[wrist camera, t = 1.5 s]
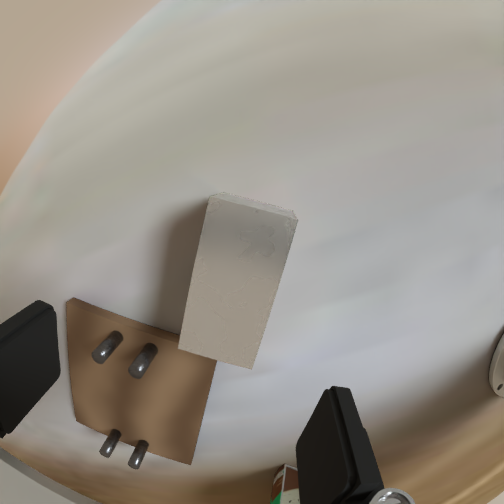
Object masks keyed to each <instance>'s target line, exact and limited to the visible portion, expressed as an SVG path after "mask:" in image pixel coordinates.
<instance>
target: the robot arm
mask: <svg viewBox="0 0 504 504" xmlns="http://www.w3.org/2000/svg"><path fill="white" fill-rule="evenodd" d="M59 376H60V361H59V350H58V337H57V317H56V312H55V311H54V309H53V306H51V305H50V304H47V303H45V302H43V301H41V300H37V301H35V302H34V303H32V304H31V305H29V306H27V307H26V308H24V309H23V310H21V311H20V312H18V313H17V314H15V315H14V316H12V317H11V318H9V319H8V320H6V321H5V322H3V323H2V324H0V438H3V437H4V436H5V435H6V433H7V434H10V433H11V432H12V431H13V430H14V429H15V428H16V426H17V425H18V424H19V423H20V422H21V421H22V419H23V418H24V417H25V416H26V415H27V414H28V412H29V411H30V410H31V409H32V408H33V407H34V405H35V404H36V403H37V402H38V401H39V400H40V399H41V397H42V396H43V395H44V394H45V393H46V392H47V391H48V390H49V388H50V387H51V386H52V385H53V384H54V383H55V382H56V381H57V379H58V378H59ZM489 382H490V386H491V388H492V389H493V390H494V392H495V393H496V394H497V395H498V396H501V397H504V334H503V336H502V338H501V339H500V341H499V343H498V345H497V348H496V350H495V353H494V355H493V359H492V362H491V365H490V371H489ZM296 458H297V471H298V485H299V499H300V504H415V502H414V500H413V499H412V498H411V496H410V495H409V494H407V493H406V492H404V491H402V490H400V489H396V488H387V489H385V488H384V485H383V482H382V478H381V475H380V472H379V469H378V466H377V462H376V459H375V456H374V453H373V450H372V447H371V444H370V441H369V438H368V435H367V432H366V430H365V429H364V428H363V426H362V423H361V420H360V417H359V414H358V411H357V408H356V405H355V402H354V399H353V396H352V393H351V391H350V389H349V388H344V387H337V386H332V387H331V388H330V389H329V390H328V389H326V390H325V391H324V392H323V394H322V396H321V398H320V400H319V402H318V404H317V406H316V408H315V410H314V412H313V414H312V416H311V418H310V419H309V421H308V423H307V425H306V427H305V429H304V430H303V432H302V434H301V436H300V438H299V439H298V442H297V445H296ZM0 504H102V503H99V502H97V501H95V500H93V499H90V498H88V497H86V496H84V495H82V494H80V493H77V492H75V491H73V490H71V489H69V488H67V487H65V486H63V485H61V484H60V483H58V482H56V481H54V480H52V479H50V478H49V477H47V476H45V475H43V474H41V473H40V472H38V471H36V470H35V469H33V468H31V467H30V466H28V465H27V464H25V463H23V462H22V461H20V460H19V459H17V458H16V457H14V456H13V455H11V454H10V453H8V452H7V451H5V450H4V449H2V448H1V447H0Z"/></svg>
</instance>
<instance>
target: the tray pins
mask: <svg viewBox="0 0 504 504" xmlns="http://www.w3.org/2000/svg"><path fill="white" fill-rule="evenodd" d="M122 341H123V336H122V334H121V333H120V332H119V331H116V330H114V331H112V332H111V333H110V334H109V335H108V336H107V337H106V338H105V339H104V340H103V341H102V342H101V343H100V344H99V345H98V347H97V348H96V349H95V350H94V351H93V352H92V354H91V356H92V358H93V360H94V361H95V362H96V363H98V364H103V363H104V362H105V361H106V360H107V359H108V357H109V356H110V355H111V354H112V353H113V352H114V351H115V349H116V348H117V347H118V346H119V345H120V344H121V342H122ZM157 353H158V348H157V346H156V345H155V344H153V343H147V344H146V345H145V346H144V347H143V349H142V350H141V351H140V353H139V354H138V356H137V357H136V358H135V360H134V361H133V362H132V364H131V365H130V367H129V368H128V372H129V374H130V375H131V376H132V377H133V378H136V379H141V378H142V377H143V375H144V374H145V372H146V370H147V369H148V367H149V366H150V364H151V363H152V361H153V359H154V358H155V356H156V355H157ZM121 436H122V434H121V432H120V431H119V430H117V429H112V431H111V432H110V434H109V436H108V437H107V439H106V441H105V442H104V444H103V446H102V447H101V449H100V451H99V452H100V454H101V455H103V456H104V457H107V458H109V457H110V455H111V454H112V452H113V450H114V448H115V446H116V445H117V443H118V441H119V439H120V437H121ZM148 447H149V443H148V442H147V441H145V440H139V441H138V443H137V445H136V447H135V449H134V451H133V453H132V456H131V458H130V460H129V462H128V465H129V466H130V467H131V468H133V469H139V467H140V464H141V462H142V460H143V458H144V455H145V453H146V451H147V449H148Z"/></svg>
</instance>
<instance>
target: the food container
mask: <svg viewBox="0 0 504 504" xmlns="http://www.w3.org/2000/svg"><path fill="white" fill-rule="evenodd" d="M270 504H300V499H299V485H298V471H297V468H295V467H292V466H290V465H287V464H284V465H282V466H281V467H280V468H279V469H278V471H277V472H276V474H275V476H274V483H273V489H272V495H271V501H270Z"/></svg>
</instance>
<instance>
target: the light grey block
mask: <svg viewBox="0 0 504 504" xmlns="http://www.w3.org/2000/svg"><path fill="white" fill-rule="evenodd" d="M297 222H298V219H297V217H296V215H295V213H294V212H293V211H292V210H289V209H285V208H282V207H278V206H274V205H271V204H267V203H263V202H260V201H256V200H252V199H248V198H244V197H241V196H237V195H233V194H229V193H225V192H223V193H219V194H216V195H213V196H210V198H209V202H208V206H207V210H206V214H205V219H204V223H203V227H202V232H201V236H200V241H199V245H198V250H197V254H196V259H195V263H194V268H193V273H192V278H191V283H190V288H189V292H188V297H187V303H186V308H185V313H184V318H183V323H182V329H181V334H180V340H179V345H178V349H181V350H184V351H187V352H191V353H194V354H197V355H201V356H204V357H208V358H211V359H215V360H218V361H222V362H225V363H229V364H233V365H237V366H241V367H244V368H248V369H252V367H253V364H254V361H255V358H256V355H257V352H258V349H259V346H260V343H261V340H262V337H263V334H264V331H265V327H266V324H267V321H268V318H269V315H270V312H271V308H272V305H273V302H274V299H275V296H276V292H277V289H278V286H279V283H280V279H281V276H282V273H283V270H284V266H285V263H286V260H287V256H288V253H289V250H290V246H291V243H292V239H293V236H294V233H295V229H296V226H297Z"/></svg>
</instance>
